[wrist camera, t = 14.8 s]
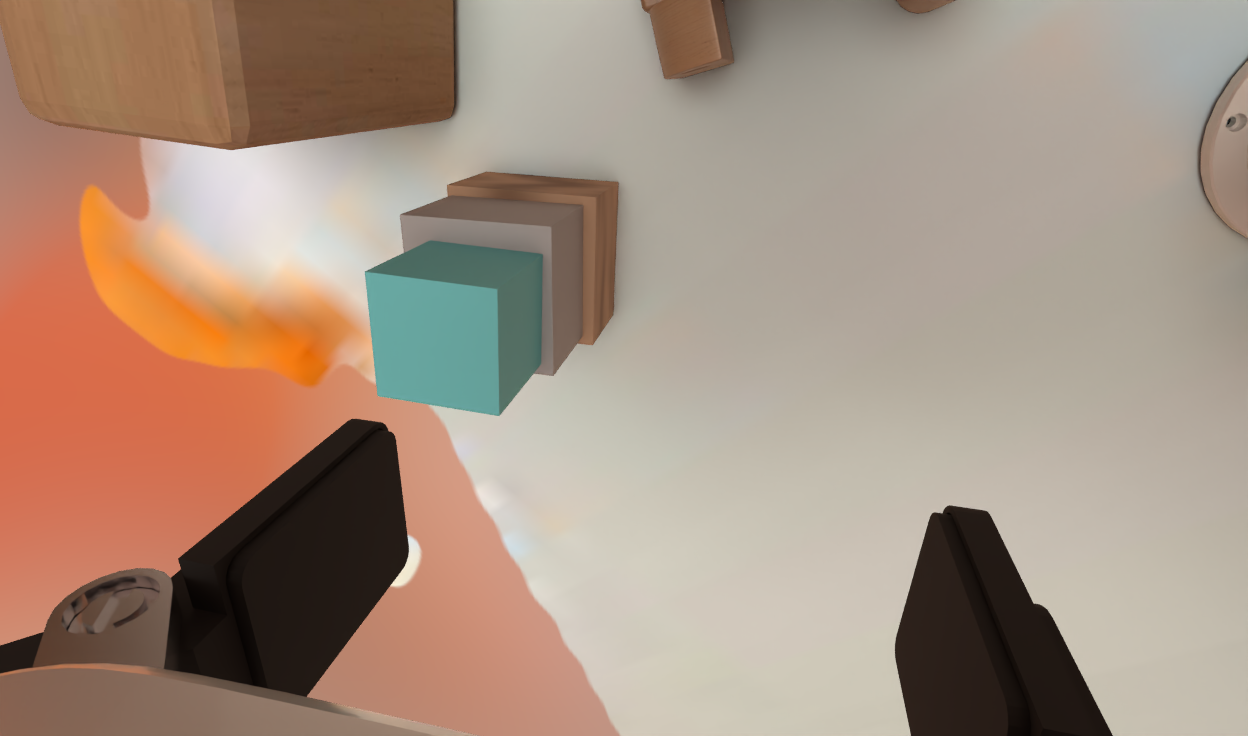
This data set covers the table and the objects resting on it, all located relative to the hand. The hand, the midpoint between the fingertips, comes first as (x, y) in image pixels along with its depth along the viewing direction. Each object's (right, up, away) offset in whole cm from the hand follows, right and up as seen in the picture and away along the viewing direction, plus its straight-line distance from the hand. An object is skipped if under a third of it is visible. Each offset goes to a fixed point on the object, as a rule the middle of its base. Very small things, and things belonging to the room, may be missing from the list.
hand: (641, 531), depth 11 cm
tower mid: (-7, +9, +28) cm, 30 cm away
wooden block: (-15, +24, +30) cm, 42 cm away
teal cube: (-7, +6, +23) cm, 25 cm away
